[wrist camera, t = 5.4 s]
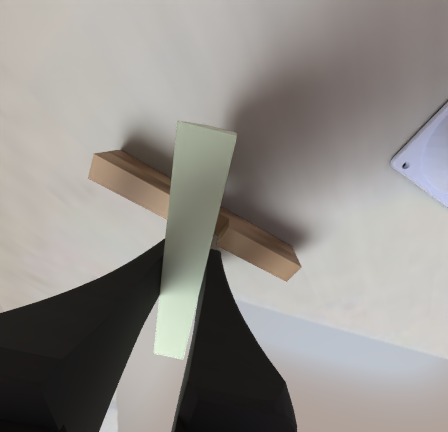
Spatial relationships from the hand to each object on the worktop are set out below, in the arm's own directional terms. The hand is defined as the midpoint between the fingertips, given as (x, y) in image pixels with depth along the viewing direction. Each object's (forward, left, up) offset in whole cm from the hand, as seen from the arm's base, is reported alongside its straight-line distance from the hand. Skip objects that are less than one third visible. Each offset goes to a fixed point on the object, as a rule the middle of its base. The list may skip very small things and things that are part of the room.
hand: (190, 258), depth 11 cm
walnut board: (0, 0, -7) cm, 7 cm away
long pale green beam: (0, 0, -5) cm, 5 cm away
